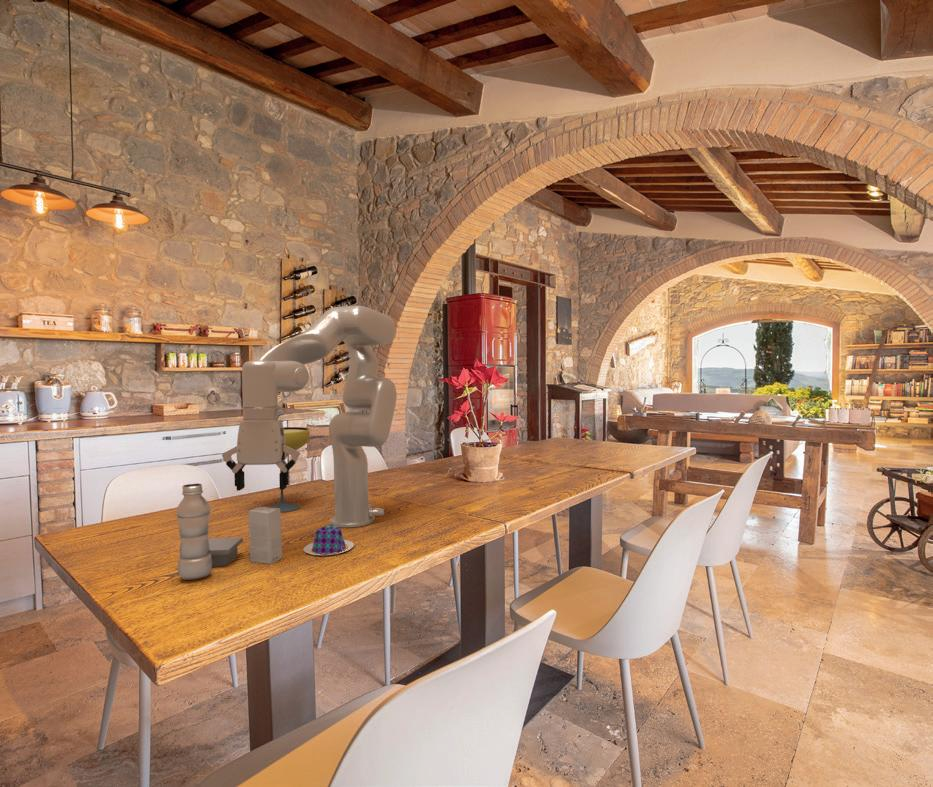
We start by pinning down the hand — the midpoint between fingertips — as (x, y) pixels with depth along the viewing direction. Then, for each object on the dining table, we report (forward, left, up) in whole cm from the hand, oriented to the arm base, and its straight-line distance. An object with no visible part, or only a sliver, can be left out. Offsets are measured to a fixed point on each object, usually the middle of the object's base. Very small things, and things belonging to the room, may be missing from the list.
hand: (261, 489), depth 126 cm
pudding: (-13, -8, -17) cm, 23 cm away
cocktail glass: (+10, -49, -17) cm, 52 cm away
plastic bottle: (+12, +9, -17) cm, 22 cm away
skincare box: (0, -1, -17) cm, 17 cm away
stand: (+12, -1, -17) cm, 21 cm away
